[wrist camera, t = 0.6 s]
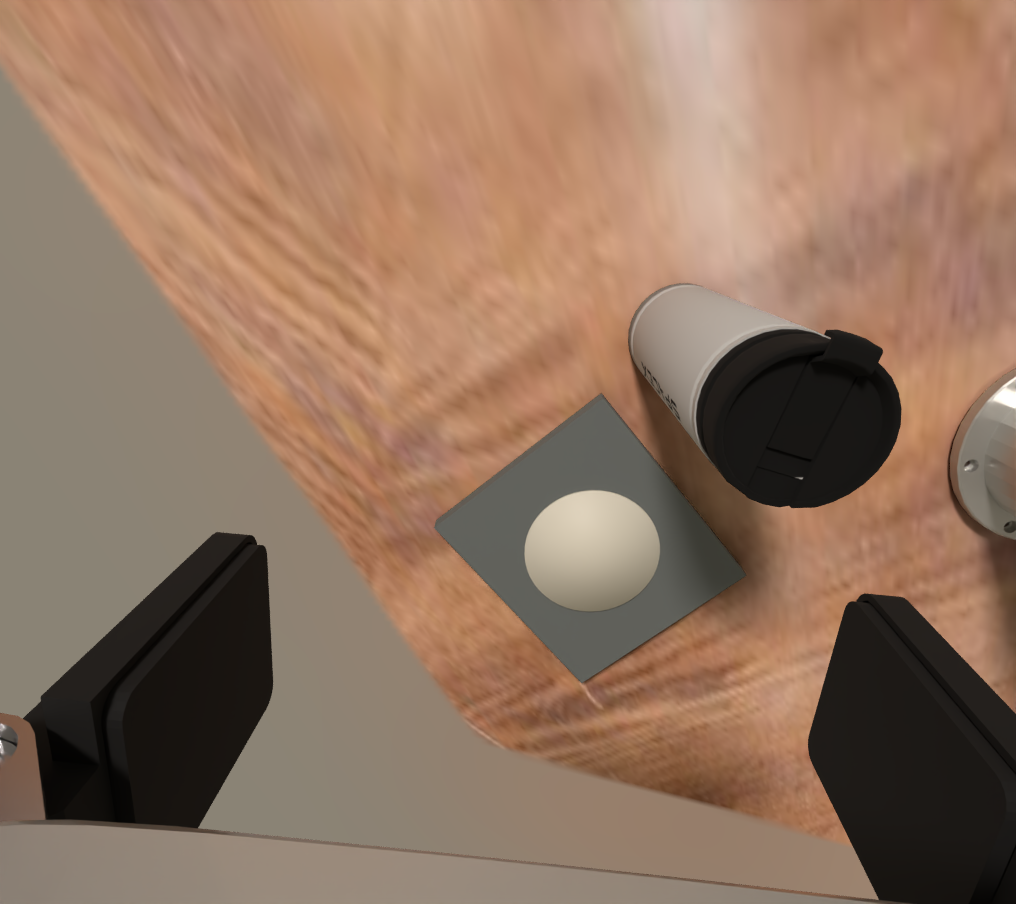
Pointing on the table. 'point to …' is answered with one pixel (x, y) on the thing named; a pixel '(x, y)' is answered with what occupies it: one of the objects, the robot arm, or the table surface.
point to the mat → (590, 541)
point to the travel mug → (768, 395)
